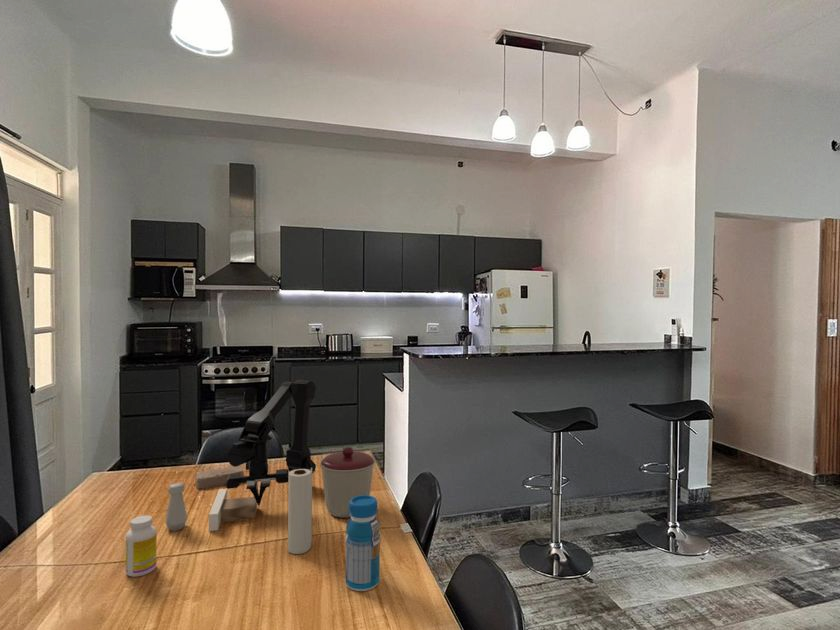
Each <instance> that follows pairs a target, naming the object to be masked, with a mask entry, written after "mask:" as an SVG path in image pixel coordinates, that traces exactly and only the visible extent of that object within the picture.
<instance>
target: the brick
mask: <svg viewBox="0 0 840 630" xmlns="http://www.w3.org/2000/svg"><path fill="white" fill-rule="evenodd" d="M239 473H241V475H242V477H244V476H245V473H244V468H243V467H242V465H239V466H237V467H234V466H232V465H229V466H227V467H226V466H225V467H223V468H222V467H221V468H216V469H215V468H213V469H207V470H201V471H197V472H196V473H195V480H194V481H195V489H196V490H200V489H206V488H210V487H218V486H225V485H227V479H228V476H229V475H230V474H239Z"/></svg>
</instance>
